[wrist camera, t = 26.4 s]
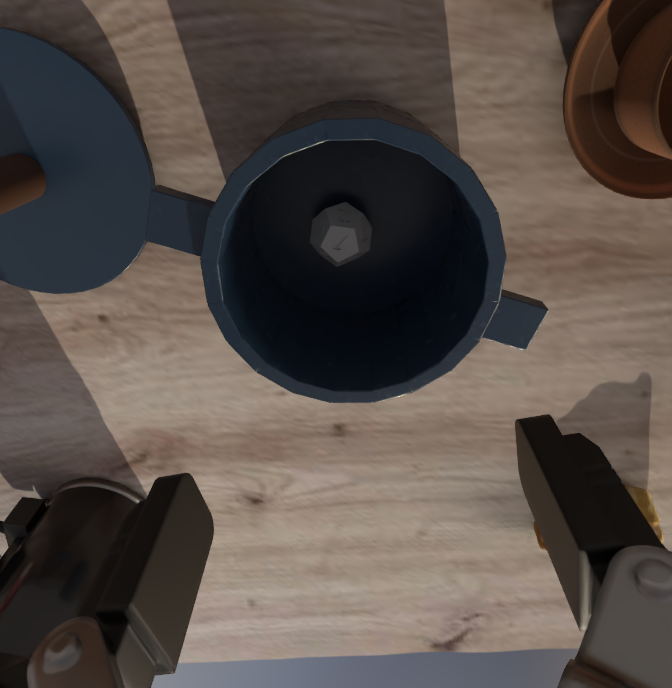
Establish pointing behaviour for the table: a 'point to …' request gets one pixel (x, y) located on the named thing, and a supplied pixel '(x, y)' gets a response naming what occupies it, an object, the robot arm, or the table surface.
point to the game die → (341, 234)
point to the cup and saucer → (623, 97)
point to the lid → (66, 171)
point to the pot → (358, 275)
